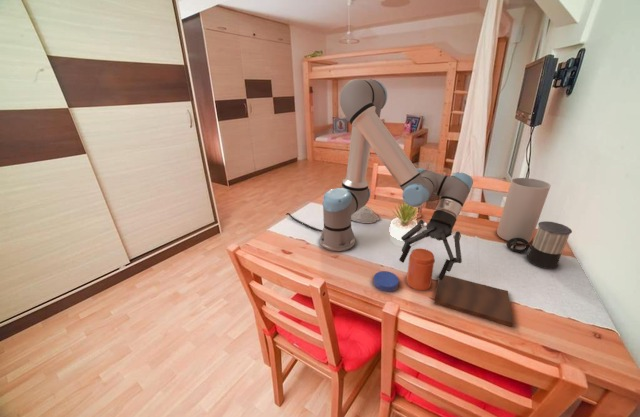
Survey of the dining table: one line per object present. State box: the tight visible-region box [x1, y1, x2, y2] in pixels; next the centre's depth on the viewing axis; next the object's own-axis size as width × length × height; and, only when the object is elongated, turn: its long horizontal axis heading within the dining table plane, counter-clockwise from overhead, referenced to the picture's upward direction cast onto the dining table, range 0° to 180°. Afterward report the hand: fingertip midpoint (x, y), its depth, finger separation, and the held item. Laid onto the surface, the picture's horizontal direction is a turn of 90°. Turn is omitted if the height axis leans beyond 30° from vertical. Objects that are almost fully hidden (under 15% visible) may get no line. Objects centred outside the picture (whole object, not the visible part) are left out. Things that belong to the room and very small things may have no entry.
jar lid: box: [373, 270, 400, 292], centre depth 90 cm, size 8×8×2 cm
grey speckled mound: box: [351, 205, 380, 224], centre depth 138 cm, size 16×25×7 cm, turn 47°
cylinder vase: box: [496, 177, 551, 245], centre depth 109 cm, size 12×12×25 cm
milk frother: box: [505, 220, 573, 270], centre depth 98 cm, size 14×16×15 cm
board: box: [434, 274, 514, 327], centre depth 82 cm, size 20×14×2 cm
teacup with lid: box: [416, 203, 424, 219], centre depth 136 cm, size 12×9×12 cm
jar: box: [406, 248, 436, 291], centre depth 88 cm, size 8×8×12 cm
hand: (419, 269), depth 87 cm, fingers open, 13 cm apart
